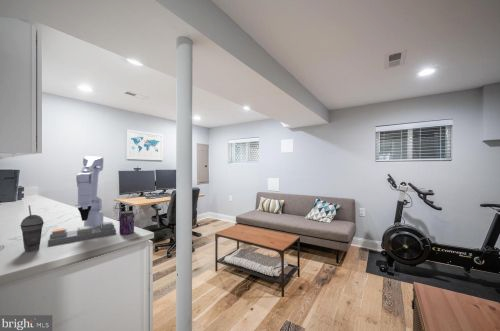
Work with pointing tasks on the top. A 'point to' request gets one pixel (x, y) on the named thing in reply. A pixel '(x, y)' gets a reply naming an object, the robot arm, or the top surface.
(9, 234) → the top surface
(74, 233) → the button panel
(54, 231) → the terracotta button
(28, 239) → the beverage cup
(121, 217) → the beverage can
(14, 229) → the top surface
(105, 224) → the slate button
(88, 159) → the robot arm
